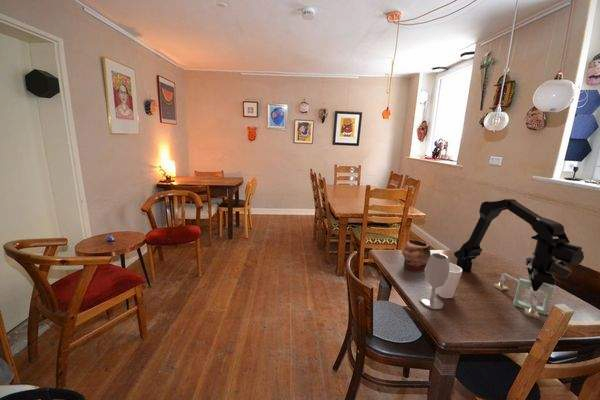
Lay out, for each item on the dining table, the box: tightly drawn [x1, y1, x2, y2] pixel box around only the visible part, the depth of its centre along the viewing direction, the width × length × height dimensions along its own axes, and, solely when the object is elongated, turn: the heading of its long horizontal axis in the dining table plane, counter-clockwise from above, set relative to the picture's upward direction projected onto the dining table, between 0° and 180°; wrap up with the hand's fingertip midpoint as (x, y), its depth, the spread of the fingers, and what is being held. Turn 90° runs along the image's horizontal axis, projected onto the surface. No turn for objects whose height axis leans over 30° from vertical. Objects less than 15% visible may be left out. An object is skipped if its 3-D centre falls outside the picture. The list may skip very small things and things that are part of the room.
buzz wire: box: [492, 272, 540, 320], centre depth 112 cm, size 5×25×9 cm, turn 173°
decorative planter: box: [401, 239, 432, 273], centre depth 137 cm, size 20×12×14 cm, turn 126°
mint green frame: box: [512, 277, 554, 316], centre depth 106 cm, size 10×3×12 cm, turn 57°
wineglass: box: [418, 252, 450, 310], centre depth 105 cm, size 9×9×21 cm
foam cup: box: [435, 262, 463, 299], centre depth 113 cm, size 10×9×13 cm
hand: (534, 289), depth 106 cm, fingers closed on mint green frame, 2 cm apart
